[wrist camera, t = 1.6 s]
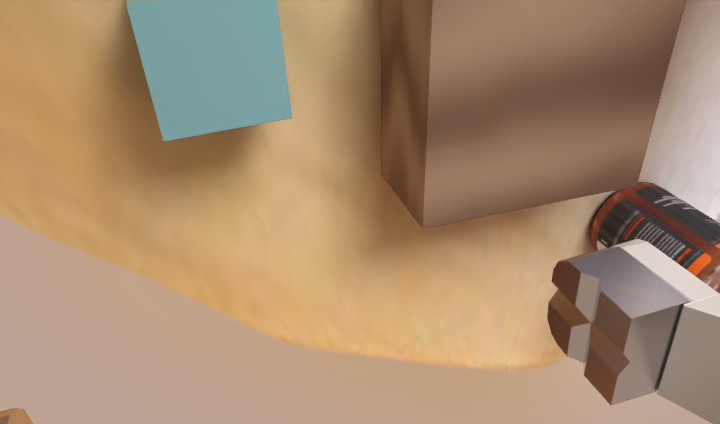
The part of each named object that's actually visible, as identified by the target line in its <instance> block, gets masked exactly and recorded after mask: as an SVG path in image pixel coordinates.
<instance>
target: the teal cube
mask: <svg viewBox="0 0 720 424" xmlns="http://www.w3.org/2000/svg"><path fill="white" fill-rule="evenodd" d="M126 6H127V10H128V14H129V17H130V21H131V25H132V28H133V32H134V36H135V39H136V43H137V47H138V50H139V54H140V58H141V62H142V65H143V69H144V73H145V76H146V80H147V84H148V87H149V91H150V95H151V98H152V102H153V106H154V109H155V113H156V117H157V120H158V124H159V128H160V131H161V135H162V139H163V142H164V141H170V140H175V139H181V138H186V137H192V136H197V135H203V134H208V133H214V132H219V131H224V130H230V129H235V128H241V127H246V126H252V125H257V124H263V123H268V122H274V121H279V120H285V119H290V118H292V113H291V105H290V98H289V91H288V83H287V76H286V69H285V61H284V54H283V47H282V39H281V32H280V25H279V18H278V10H277V3H276V0H127V2H126Z"/></svg>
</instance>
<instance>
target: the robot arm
mask: <svg viewBox="0 0 720 424" xmlns="http://www.w3.org/2000/svg"><path fill="white" fill-rule="evenodd" d="M552 282H553V284H554V285H555V286H556V287H557V289H558V290H557V292H556V293H555V294H554V296H553V297H552V299H551V300H550V301H549V305H548V316H547V318H548V322H549V326H550V330H551V333H552V335H553V337H554V339H555V341H556V343H557V344H558V346H559V347H560V348H561V349H562V350H563V352H564V353H565V354H566V355H567V356H569V357H571V358H574V359H576V360H578V361H581V362H583V363H584V376H585V377H586V378H587V379H588V380H589V381H590V383H591V384H592V385H593V386H594V387H595V388H596V389H597V390H598V391H599V393H600V394H601V395H602V396H603V397H604V398H605V399H606V400H607V402H608V403H609V404H610V405H614V404H617V403H621V402H624V401H627V400H630V399H634V398H637V397H640V396H643V395H647V394H650V393H653V392H656V391H658V392H657V394H658V395H660V396H662V397H664V398H666V399H668V400H669V401H671V402H673V403H675V404H677V405H679V406H681V407H683V408H684V409H686V410H688V411H690V412H692V413H694V414H696V415H698V416H700V417H701V418H703V419H705V420H707V421H709V422H711V423H713V424H720V294H719V293H718V292H716V291H715V290H714V289H712V288H711V287H710V286H708V285H707V284H705V283H704V282H703V281H701V280H700V279H698V278H697V277H696V276H694V275H693V274H692V273H690V272H689V271H687V270H686V269H685V268H683V267H682V266H681V265H679V264H678V263H676V262H675V261H674V260H672V259H671V258H670V257H668V256H667V255H665V254H664V253H663V252H661V251H660V250H658V249H657V248H656V247H654V246H653V245H652V244H650V243H649V242H647V241H644V240H640V239H635V240H632V241H628V242H625V243H621V244H618V245H614V246H611V247H610V248H605V249H601V250H598V251H594V252H591V253H587V254H583V255H580V256H576V257H573V258H569V259H565V260H562V261H558V263H557V265H556V266H555V268H554V270H553V276H552ZM0 424H33V423H32V421H31V420H30V418H29V416H28V415H27V413H26V412H25V410H24V409H20V408H13V409H9V410H5V411H1V412H0Z"/></svg>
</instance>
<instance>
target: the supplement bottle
mask: <svg viewBox="0 0 720 424" xmlns="http://www.w3.org/2000/svg"><path fill="white" fill-rule="evenodd" d="M635 239H640V240H644V241H647V242H649V243H650V244H652V245H653V246H654V247H656V248H657V249H658V250H660V251H661V252H663V253H664V254H665V255H667V256H668V257H670V258H671V259H672V260H674V261H675V262H676V263H678V264H679V265H681V266H682V267H683V268H685V269H686V270H687V271H689V272H690V273H692V274H693V275H694V276H696V277H697V278H698V279H700V280H701V281H703V282H704V283H705V284H707V285H708V286H710V287H711V288H712V289H714V290H715V291H716V292H718V293H719V294H720V223H718V222H716V221H715V220H713V219H712V218H710V217H709V216H707V215H705V214H704V213H702V212H700V211H699V210H697V209H695V208H694V207H692V206H691V205H689V204H687V203H686V202H684V201H683V200H681V199H679V198H678V197H676V196H674V195H673V194H671V193H670V192H668V191H666V190H665V189H663V188H661V187H659V186H657V185H655V184H653V183H648V182H639V183H637V186H633V187H628V188H623V189H620V190H619V191H617V192H616V193H614V194H613V195H612V196H611V197H610V198H609V199H608V200H607V201H606V202H605V203H604V204H603V205H602V207H601V208H600V210H599V211H598V213H597V214H596V216H595V218H594V221H593V224H592V227H591V242H592V245H593V247H594V249H595V250H596V251H598V250H601V249H605V248H610V247H611V246H614V245H618V244H621V243H625V242H628V241H632V240H635Z"/></svg>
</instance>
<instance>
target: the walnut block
mask: <svg viewBox="0 0 720 424" xmlns="http://www.w3.org/2000/svg"><path fill="white" fill-rule="evenodd" d="M685 1H686V0H381V175H382V176H383V177H384V179H385V180H386V181H387V183H388V184H389V185H390V187H391V188H392V189H393V190H394V192H395V193H396V194H397V196H398V197H399V198H400V200H401V201H402V202H403V204H404V205H405V206H406V208H407V209H408V210H409V211H410V213H411V214H412V215H413V217H414V218H415V219H416V221H417V222H418V223H419V225H420V226H421V227H422V228H423V229H425V228H430V227H435V226H440V225H445V224H450V223H455V222H459V221H464V220H469V219H474V218H479V217H484V216H489V215H494V214H499V213H504V212H509V211H514V210H519V209H524V208H529V207H534V206H539V205H544V204H549V203H554V202H558V201H563V200H568V199H573V198H578V197H583V196H588V195H593V194H598V193H603V192H608V191H613V190H618V189H623V188H628V187H633V186H637V182H638V178H639V175H640V171H641V167H642V163H643V159H644V156H645V152H646V148H647V144H648V141H649V137H650V133H651V129H652V126H653V122H654V118H655V114H656V111H657V107H658V103H659V99H660V95H661V92H662V88H663V84H664V80H665V77H666V73H667V69H668V65H669V62H670V58H671V54H672V50H673V47H674V43H675V39H676V35H677V31H678V28H679V24H680V20H681V16H682V13H683V9H684V5H685Z"/></svg>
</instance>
